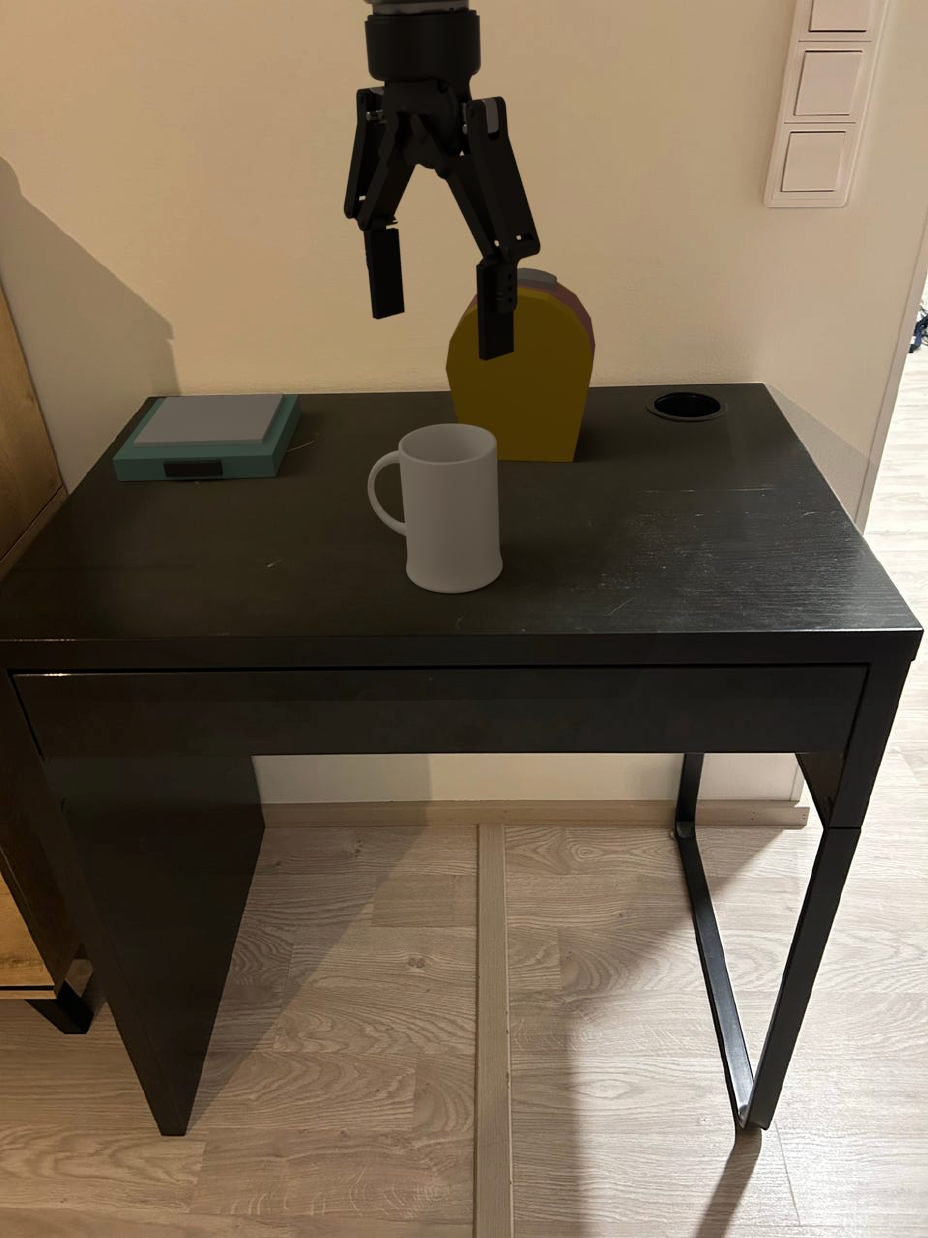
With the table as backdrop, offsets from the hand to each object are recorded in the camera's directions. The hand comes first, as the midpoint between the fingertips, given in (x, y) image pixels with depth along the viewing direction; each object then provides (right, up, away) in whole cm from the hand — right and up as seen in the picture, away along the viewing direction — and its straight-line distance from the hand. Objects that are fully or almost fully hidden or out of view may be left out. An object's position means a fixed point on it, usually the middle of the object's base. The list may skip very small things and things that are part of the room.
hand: (439, 334), depth 74 cm
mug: (0, -17, +12) cm, 21 cm away
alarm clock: (+8, -3, +32) cm, 33 cm away
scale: (-26, -2, +35) cm, 44 cm away
